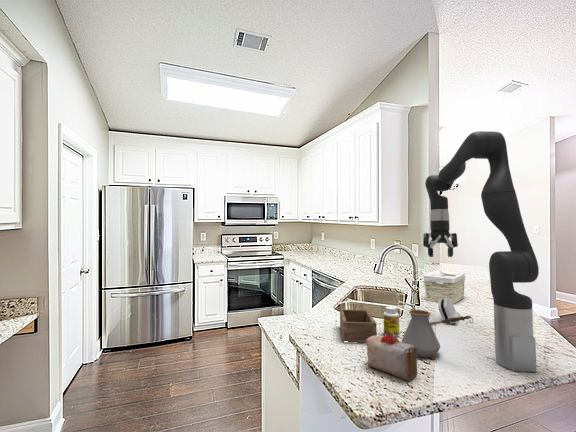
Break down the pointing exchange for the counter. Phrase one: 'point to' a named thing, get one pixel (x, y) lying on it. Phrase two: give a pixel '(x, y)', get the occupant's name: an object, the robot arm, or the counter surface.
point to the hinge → (448, 310)
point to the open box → (357, 325)
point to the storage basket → (444, 286)
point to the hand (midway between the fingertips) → (440, 256)
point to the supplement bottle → (391, 321)
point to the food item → (392, 356)
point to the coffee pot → (425, 332)
